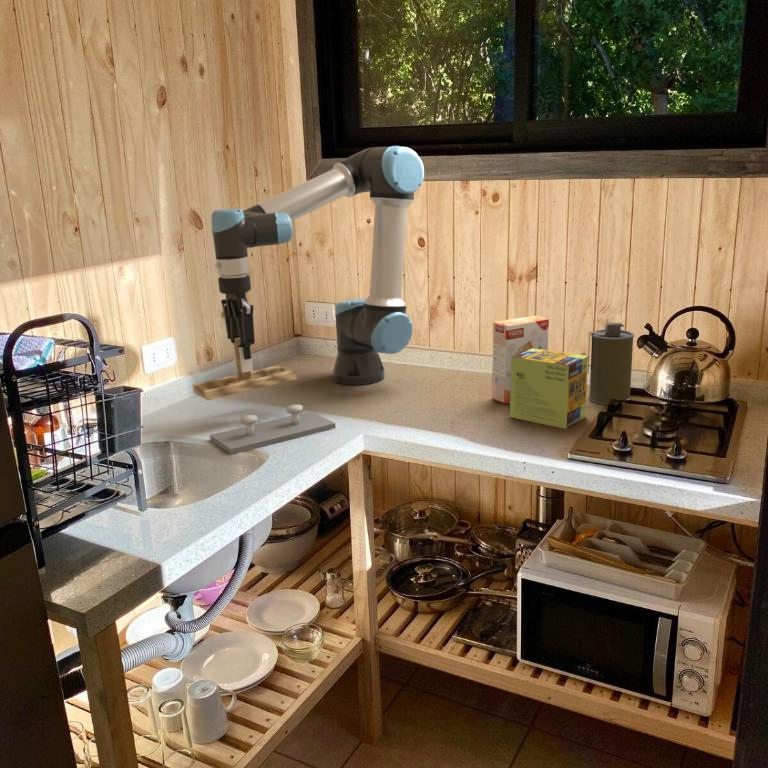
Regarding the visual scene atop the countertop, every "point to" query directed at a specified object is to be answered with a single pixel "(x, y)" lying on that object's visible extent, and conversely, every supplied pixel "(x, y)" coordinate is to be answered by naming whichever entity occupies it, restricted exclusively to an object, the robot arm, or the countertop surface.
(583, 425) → the countertop surface
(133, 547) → the countertop surface
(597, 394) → the canister
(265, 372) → the ball track frame
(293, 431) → the board
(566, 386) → the protein box
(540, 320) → the cracker box
